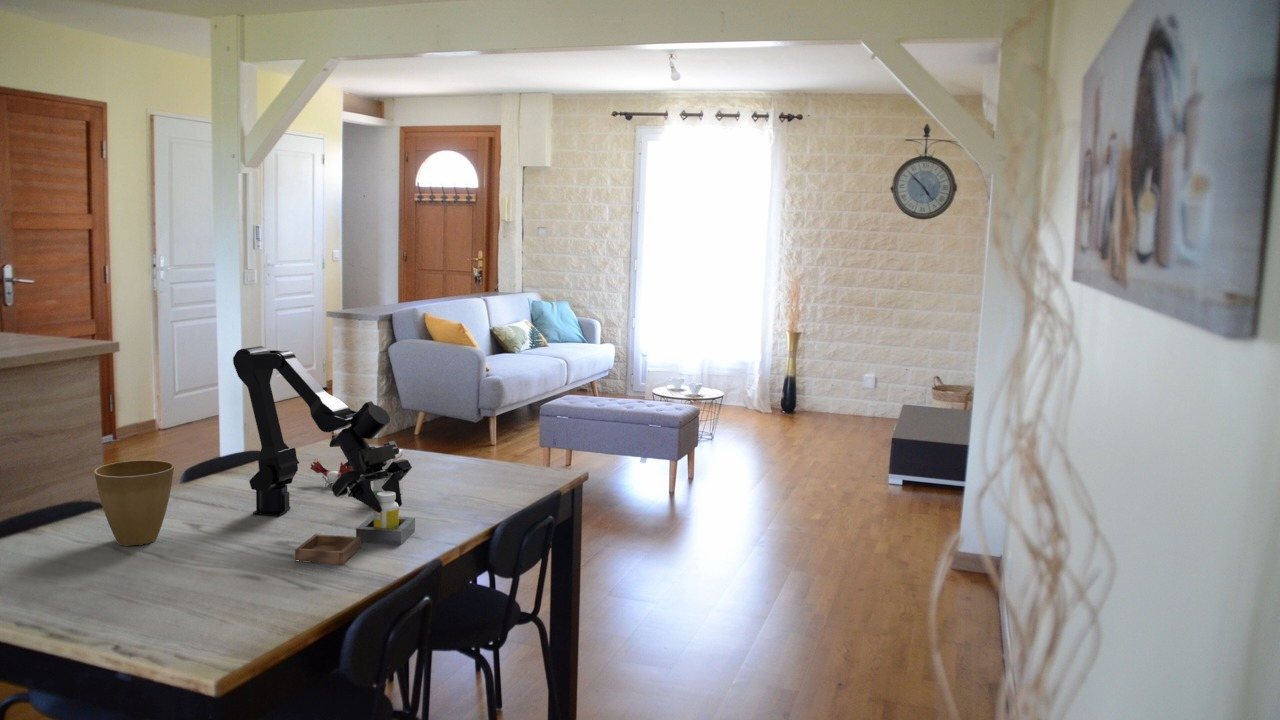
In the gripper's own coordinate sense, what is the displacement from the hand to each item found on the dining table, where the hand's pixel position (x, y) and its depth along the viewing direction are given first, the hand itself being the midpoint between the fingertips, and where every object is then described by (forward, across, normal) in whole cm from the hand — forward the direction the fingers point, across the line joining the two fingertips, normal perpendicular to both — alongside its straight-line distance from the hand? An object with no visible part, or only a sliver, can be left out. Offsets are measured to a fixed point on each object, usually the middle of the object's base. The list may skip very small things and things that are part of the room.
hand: (390, 508), depth 214 cm
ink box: (-12, +21, +22) cm, 33 cm away
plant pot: (-22, -36, +31) cm, 53 cm away
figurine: (-25, +20, +35) cm, 47 cm away
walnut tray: (+4, -16, +5) cm, 17 cm away
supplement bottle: (+4, 0, +6) cm, 7 cm away
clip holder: (+4, 0, +6) cm, 7 cm away
